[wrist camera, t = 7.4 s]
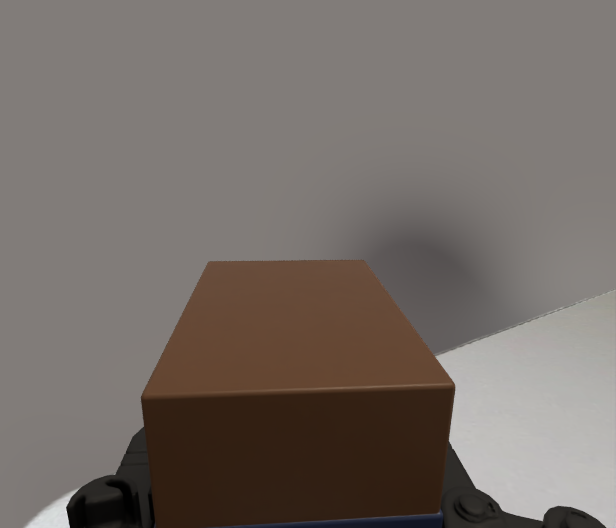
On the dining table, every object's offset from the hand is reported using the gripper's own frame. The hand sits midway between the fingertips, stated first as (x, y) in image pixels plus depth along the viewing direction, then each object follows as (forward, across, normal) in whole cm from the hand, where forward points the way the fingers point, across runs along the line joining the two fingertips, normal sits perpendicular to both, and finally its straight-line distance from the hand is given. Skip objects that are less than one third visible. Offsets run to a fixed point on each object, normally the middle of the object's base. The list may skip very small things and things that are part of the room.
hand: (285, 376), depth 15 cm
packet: (-5, 0, -6) cm, 8 cm away
